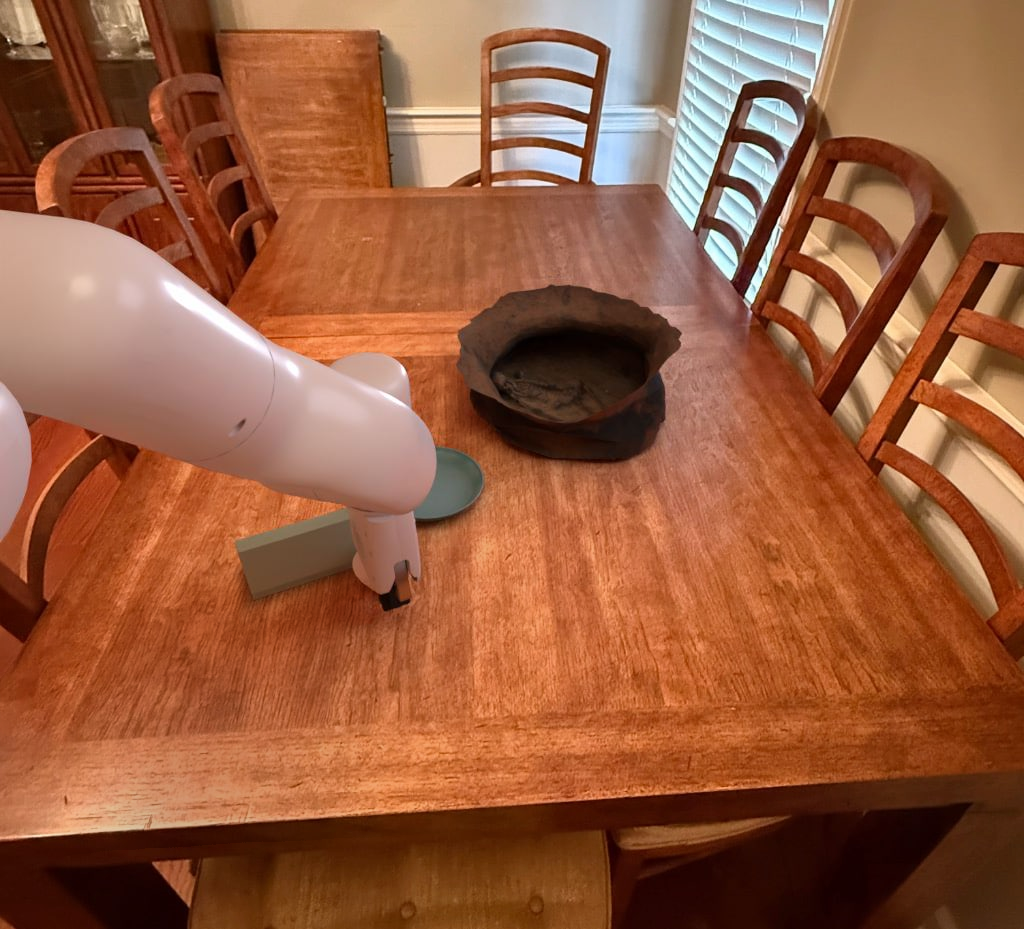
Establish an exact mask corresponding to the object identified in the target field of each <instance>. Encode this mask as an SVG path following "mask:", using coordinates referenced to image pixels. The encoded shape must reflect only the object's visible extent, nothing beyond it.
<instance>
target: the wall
mask: <svg viewBox="0 0 1024 929" xmlns="http://www.w3.org/2000/svg"><path fill="white" fill-rule="evenodd" d="M234 545H235V549H236V553H237V556H238V559H239V561H240V564H241V567H242V571H243V574H244V576H245V579H246V582H247V585H248V588H249V591H250V594H251V597H252V600H253V601H256V600H259V599H262V598H266V597H268V596H272V595H275V594H278V593H281V592H283V591H287V590H289V589H293V588H296V587H300V586H302V585H305V584H308V583H311V582H314V581H317V580H321V579H323V578H326V577H330V576H332V575H335V574H338V573H342V572H345V571H348V570H351V569H353V566H352V561H353V558H354V556H355V554H356V552H357V550H356V547H355V545H354V542H353V538H352V534H351V527H350V519H349V511H348V508H347V507H345V508H341V509H337V510H334V511H331V512H327V513H325V514H320V515H318V516H314V517H311V518H307V519H304V520H300V521H297V522H293V523H291V524H287V525H284V526H280V527H277V528H274V529H270V530H267V531H263V532H260V533H256V534H253V535H249V536H247V537H243V538H240V539H237V540H234Z"/></svg>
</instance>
